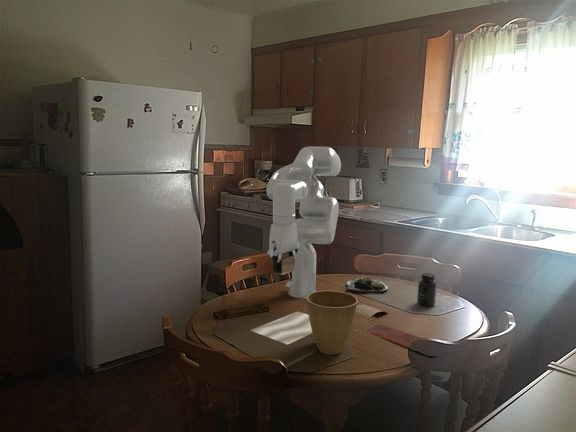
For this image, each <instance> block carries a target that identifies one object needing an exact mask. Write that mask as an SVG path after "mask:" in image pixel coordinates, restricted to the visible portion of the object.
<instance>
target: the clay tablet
mask: <svg viewBox="0 0 576 432" xmlns="http://www.w3.org/2000/svg"><path fill="white" fill-rule="evenodd" d="M381 312H383V313H385V314H388V312H386V311H384V310H381V309H378V308H375V307H372V306H369V305H367V304H357V307H356V312H355V313H357V314H360V315H363V316H366V317H369V318H372V317H373V316H374V315H375V314H377V313H381Z"/></svg>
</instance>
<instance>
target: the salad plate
mask: <svg viewBox="0 0 576 432" xmlns="http://www.w3.org/2000/svg"><path fill="white" fill-rule="evenodd" d="M346 284H347V289H348V290H350V291H352V292H353V293H357V294H362V293H380V294H385V293H386V292H387V291H388V290H389V287H388V286H387V285H386V284H385V283H384V282H383V281H381V280H378V279H377V280H376V279H372V278H370V277H369V276H367V277H363V276H360V277H356V278H355V279H351V280H349V281H347V282H346ZM384 292H385V293H384Z"/></svg>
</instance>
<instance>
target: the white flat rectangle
mask: <svg viewBox="0 0 576 432" xmlns="http://www.w3.org/2000/svg"><path fill="white" fill-rule="evenodd" d="M249 331H250V332H253V333H255V334H258V335H261V336H263V337H265V338H268V339H271V340H274V341H276V342H279V343H282V344H284V345H290V344H292V343H294V342H297V341H298V340H301V339H303V338H305V337H307V336H309V335H311V334H312V335H313V333H312V329H311V324H310V319H309V314H307V313H304V312H300V311H296V312H293V313H290V314H288V315H287V314H286V315H285V316H282V317H280V318H278V319H274V320H273V321H270V322H267V323H265V324H262V325H260V326H258V327H255V328H252V329H250V330H249Z"/></svg>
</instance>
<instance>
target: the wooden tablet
mask: <svg viewBox="0 0 576 432" xmlns="http://www.w3.org/2000/svg"><path fill="white" fill-rule="evenodd" d="M366 331H367V332H368V333H370V334H371V335H373V336H375V337H379V338H380V339H384V340H386V341H389V342H391V343H395V344H396V345H400V346H402V347H403V348H406V349H409V348H408V346H409V344H410V342H411V341H412V340H414V339H415V338H419V337H420V336H418V335H414V334H411V333H408V332H405V331H402V330H398V329H396V328H393V327H390V326H387V325H384V324H377V325H375V326H372V327H371V328H367V330H366Z"/></svg>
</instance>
